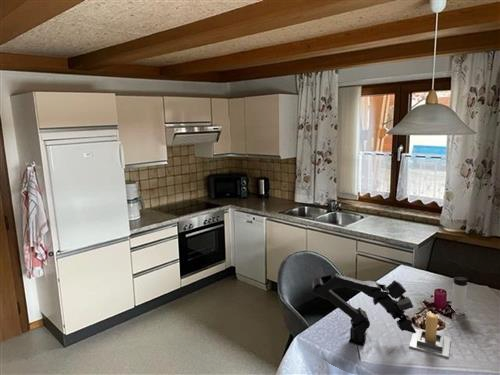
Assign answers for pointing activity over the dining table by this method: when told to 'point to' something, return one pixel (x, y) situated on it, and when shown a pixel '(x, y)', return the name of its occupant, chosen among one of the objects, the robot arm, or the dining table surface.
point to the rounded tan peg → (431, 328)
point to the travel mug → (459, 295)
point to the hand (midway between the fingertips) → (411, 327)
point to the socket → (430, 344)
